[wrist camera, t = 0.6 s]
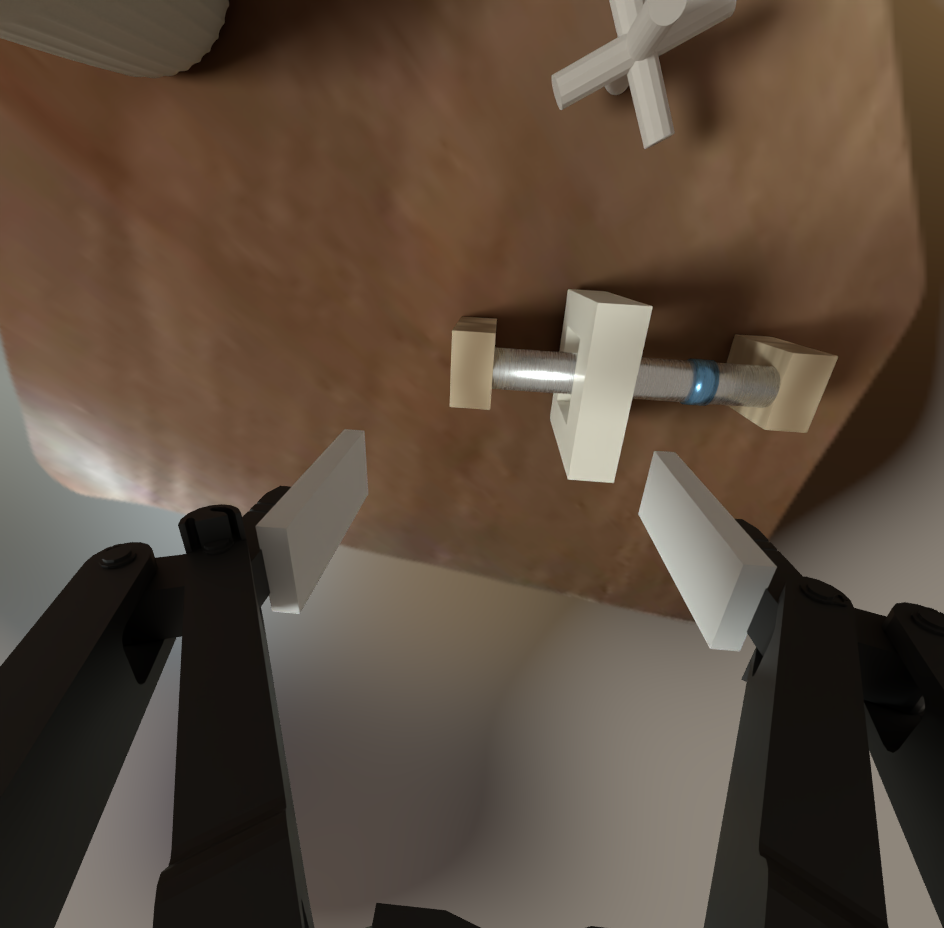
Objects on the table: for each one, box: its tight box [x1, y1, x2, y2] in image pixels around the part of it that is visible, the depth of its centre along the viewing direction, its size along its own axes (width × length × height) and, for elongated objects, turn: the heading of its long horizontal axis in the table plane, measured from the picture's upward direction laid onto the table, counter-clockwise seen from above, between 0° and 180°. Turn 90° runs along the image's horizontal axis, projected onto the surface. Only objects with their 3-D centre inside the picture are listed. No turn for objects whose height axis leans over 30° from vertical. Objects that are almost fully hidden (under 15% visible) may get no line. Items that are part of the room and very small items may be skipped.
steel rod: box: [492, 348, 780, 408], centre depth 32 cm, size 25×3×3 cm, turn 87°
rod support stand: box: [450, 316, 838, 433], centre depth 34 cm, size 26×6×8 cm, turn 87°
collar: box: [550, 289, 653, 483], centre depth 32 cm, size 3×11×12 cm, turn 177°
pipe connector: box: [552, 0, 737, 149], centre depth 25 cm, size 10×10×10 cm
